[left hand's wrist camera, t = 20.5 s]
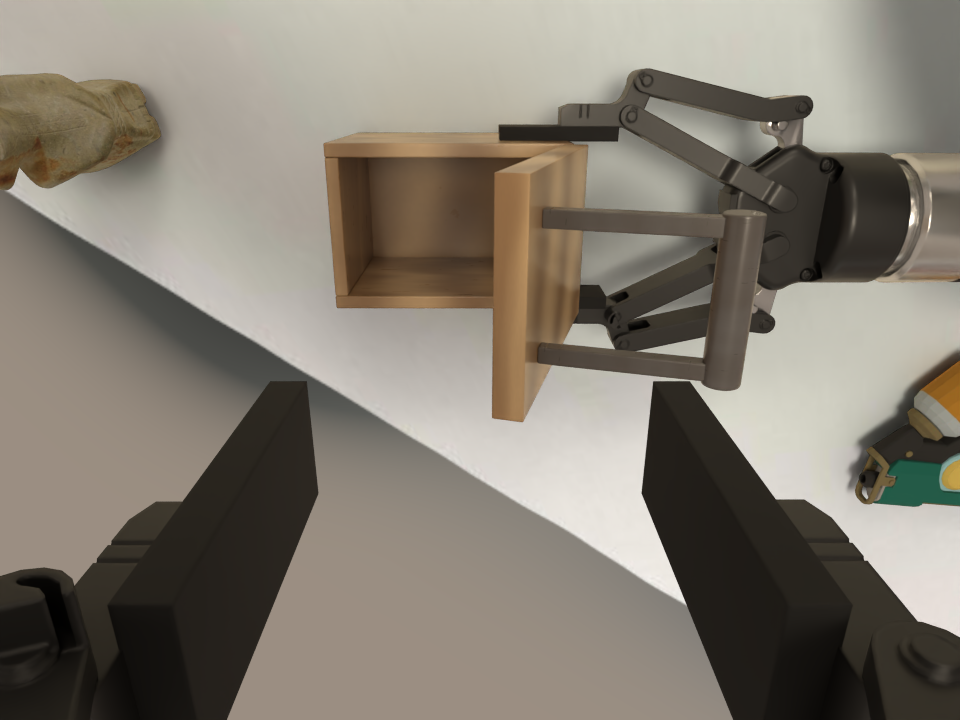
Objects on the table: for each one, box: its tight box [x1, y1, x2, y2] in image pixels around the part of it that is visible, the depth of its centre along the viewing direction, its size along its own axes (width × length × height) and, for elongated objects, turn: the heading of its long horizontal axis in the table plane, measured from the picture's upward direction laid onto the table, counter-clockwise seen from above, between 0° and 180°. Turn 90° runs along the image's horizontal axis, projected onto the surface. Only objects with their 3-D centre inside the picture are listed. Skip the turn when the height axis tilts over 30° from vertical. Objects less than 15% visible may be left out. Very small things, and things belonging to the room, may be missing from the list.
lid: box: [492, 144, 767, 422], centre depth 29 cm, size 14×9×9 cm
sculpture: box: [0, 73, 161, 190], centre depth 37 cm, size 6×7×15 cm
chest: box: [324, 133, 574, 308], centre depth 41 cm, size 13×9×10 cm
